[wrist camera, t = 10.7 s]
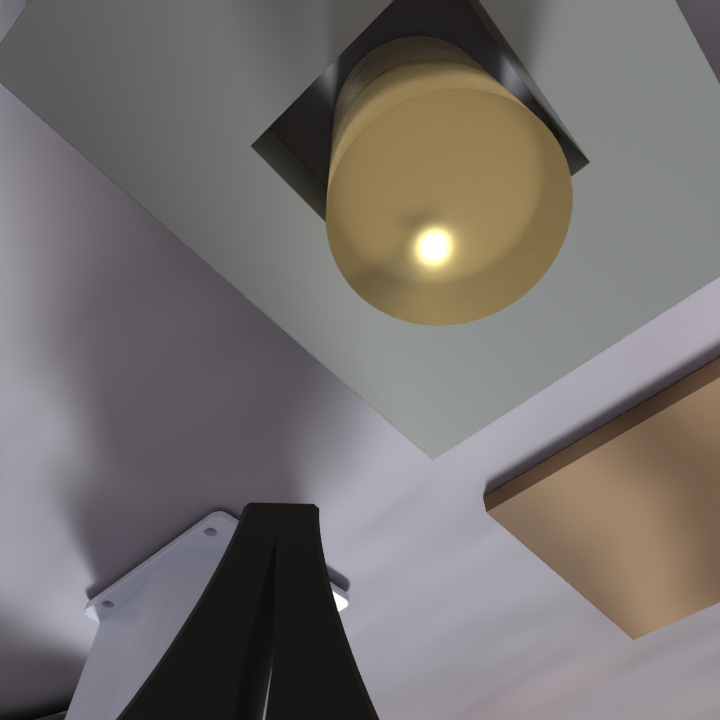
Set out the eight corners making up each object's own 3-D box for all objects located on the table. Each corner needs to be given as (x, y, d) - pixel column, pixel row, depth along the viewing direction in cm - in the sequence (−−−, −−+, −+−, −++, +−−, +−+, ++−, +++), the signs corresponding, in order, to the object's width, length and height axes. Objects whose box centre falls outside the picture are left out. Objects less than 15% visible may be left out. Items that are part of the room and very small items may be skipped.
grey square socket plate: (425, 412, 22) (432, 460, 20) (31, 51, 16) (-17, 68, 14) (744, 195, 18) (795, 227, 16) (389, -437, 11) (398, -522, 9)
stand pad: (627, 624, 30) (633, 639, 29) (482, 497, 25) (486, 512, 24) (887, 507, 26) (901, 522, 25) (776, 323, 20) (790, 336, 20)
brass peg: (482, 205, 18) (546, 327, 12) (333, 202, 18) (326, 324, 12) (506, 38, 16) (599, 91, 10) (333, 33, 16) (324, 83, 10)
